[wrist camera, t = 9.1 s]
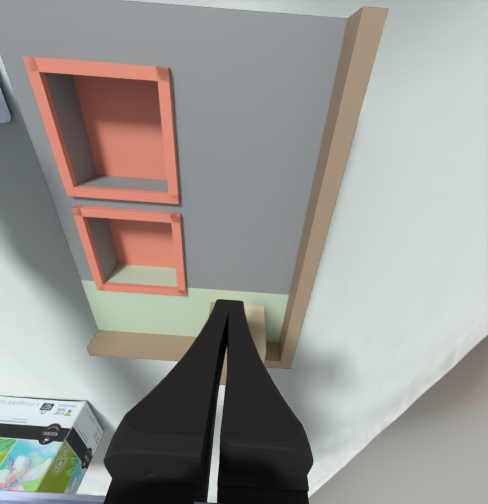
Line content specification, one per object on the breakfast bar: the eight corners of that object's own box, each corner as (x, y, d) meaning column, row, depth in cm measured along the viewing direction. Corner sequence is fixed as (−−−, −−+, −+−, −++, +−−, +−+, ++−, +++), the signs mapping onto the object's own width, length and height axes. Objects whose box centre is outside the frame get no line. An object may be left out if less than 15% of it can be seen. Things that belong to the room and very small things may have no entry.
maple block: (210, 337, 24) (202, 383, 20) (211, 301, 22) (202, 347, 18) (257, 340, 24) (258, 388, 20) (263, 306, 22) (266, 352, 18)
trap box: (115, 313, 27) (89, 355, 23) (26, 6, 14) (-70, -29, 10) (284, 325, 27) (290, 368, 23) (348, 32, 14) (388, 8, 10)
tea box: (87, 397, 37) (1, 556, 24) (105, 430, 42) (43, 574, 30) (-17, 392, 37) (-155, 548, 24) (15, 425, 42) (-85, 567, 30)
